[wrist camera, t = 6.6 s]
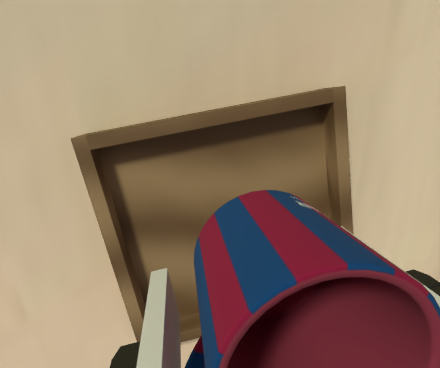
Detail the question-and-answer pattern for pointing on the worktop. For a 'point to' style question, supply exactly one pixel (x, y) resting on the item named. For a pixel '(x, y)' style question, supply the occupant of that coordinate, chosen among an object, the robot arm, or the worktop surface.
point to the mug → (303, 293)
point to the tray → (208, 183)
